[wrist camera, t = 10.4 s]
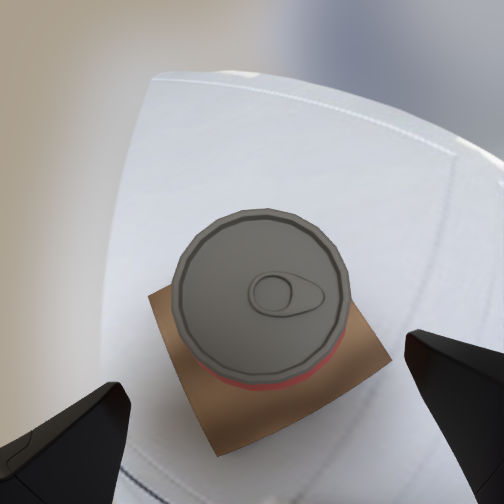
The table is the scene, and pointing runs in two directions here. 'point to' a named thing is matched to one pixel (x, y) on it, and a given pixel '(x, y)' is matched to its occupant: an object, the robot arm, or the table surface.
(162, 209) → the table surface
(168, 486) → the table surface
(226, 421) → the walnut block
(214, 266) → the beer can
